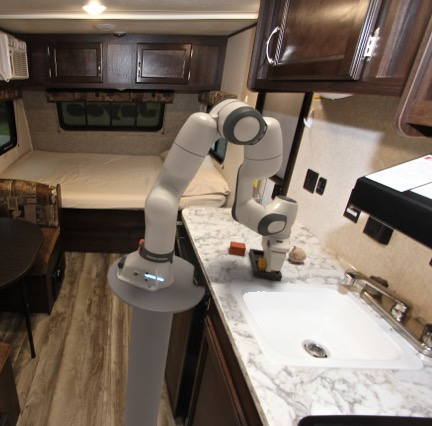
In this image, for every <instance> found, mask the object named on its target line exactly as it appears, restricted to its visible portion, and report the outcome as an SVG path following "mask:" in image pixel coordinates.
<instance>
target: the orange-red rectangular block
mask: <svg viewBox="0 0 432 426" xmlns="http://www.w3.org/2000/svg"><path fill="white" fill-rule="evenodd" d="M228 249H229V254H230V255H235V256H241V257H245V254H246V251H247V246H246V243H243V242H238V241H230V244H229V248H228Z"/></svg>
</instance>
